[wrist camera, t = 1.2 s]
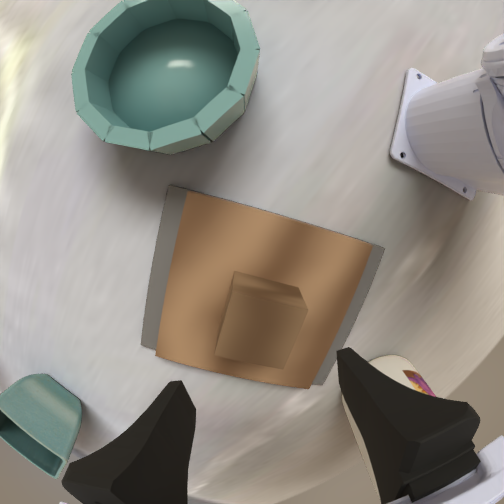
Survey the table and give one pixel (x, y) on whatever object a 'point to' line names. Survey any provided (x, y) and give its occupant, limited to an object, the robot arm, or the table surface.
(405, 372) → the milk bottle
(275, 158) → the table surface
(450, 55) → the table surface
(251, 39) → the bowl
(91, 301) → the table surface
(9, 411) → the flower pot
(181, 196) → the mat
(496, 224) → the table surface
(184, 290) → the lid
